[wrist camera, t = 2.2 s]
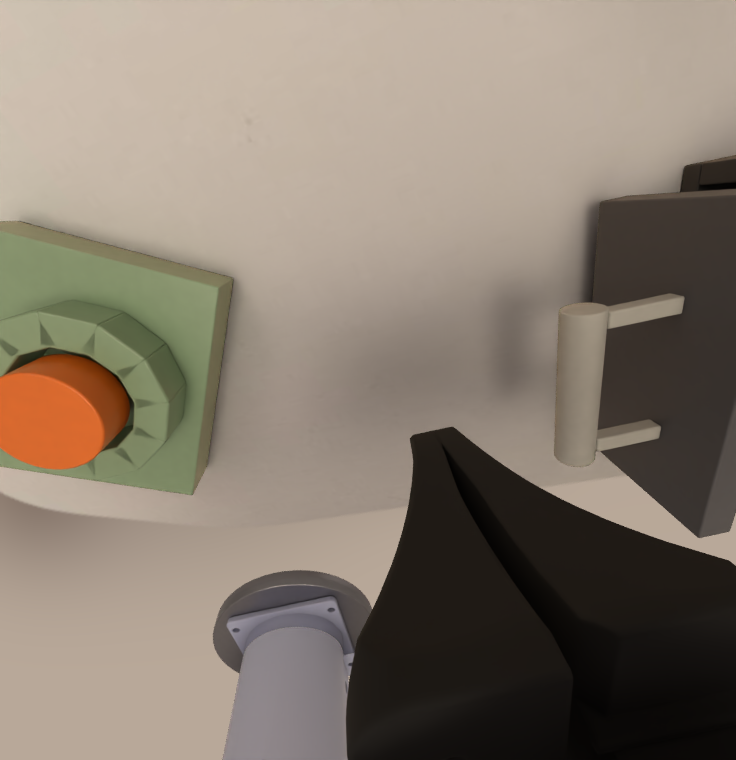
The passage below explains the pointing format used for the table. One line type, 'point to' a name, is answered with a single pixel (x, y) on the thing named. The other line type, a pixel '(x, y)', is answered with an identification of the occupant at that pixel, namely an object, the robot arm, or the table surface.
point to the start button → (60, 411)
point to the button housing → (121, 345)
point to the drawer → (658, 354)
